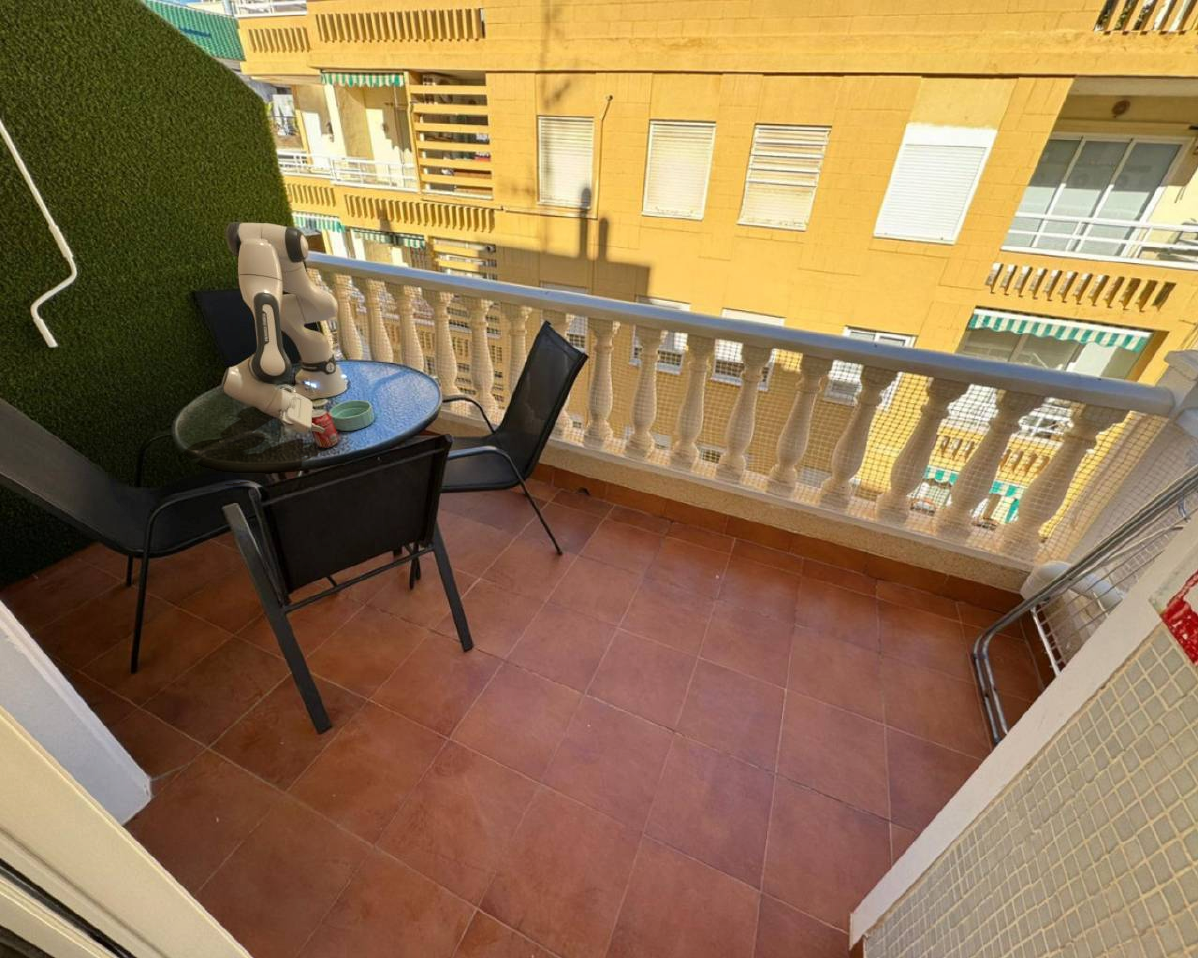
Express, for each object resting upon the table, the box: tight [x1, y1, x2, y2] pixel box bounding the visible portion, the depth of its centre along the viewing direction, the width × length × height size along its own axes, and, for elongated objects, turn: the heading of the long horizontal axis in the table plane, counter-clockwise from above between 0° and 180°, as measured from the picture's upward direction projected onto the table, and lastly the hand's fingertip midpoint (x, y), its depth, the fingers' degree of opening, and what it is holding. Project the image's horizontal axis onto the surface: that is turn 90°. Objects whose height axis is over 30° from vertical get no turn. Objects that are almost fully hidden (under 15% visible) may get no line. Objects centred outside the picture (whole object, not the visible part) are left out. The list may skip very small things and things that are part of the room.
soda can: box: [311, 408, 340, 449], centre depth 168 cm, size 7×7×12 cm
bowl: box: [328, 399, 376, 432], centre depth 182 cm, size 14×14×6 cm
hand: (323, 425), depth 168 cm, fingers closed on soda can, 7 cm apart
